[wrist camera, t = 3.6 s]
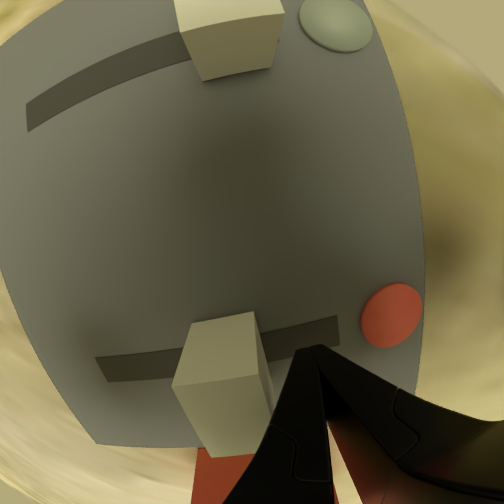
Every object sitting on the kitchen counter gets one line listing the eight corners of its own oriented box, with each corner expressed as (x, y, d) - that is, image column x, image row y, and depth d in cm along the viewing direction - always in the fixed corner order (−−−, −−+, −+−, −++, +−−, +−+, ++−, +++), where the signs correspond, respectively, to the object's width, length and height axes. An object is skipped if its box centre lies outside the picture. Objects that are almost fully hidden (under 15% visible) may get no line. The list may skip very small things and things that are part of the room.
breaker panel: (315, -30, 8) (329, -64, 5) (393, 366, 13) (417, 399, 10) (10, 73, 8) (-23, 62, 5) (110, 414, 13) (94, 447, 10)
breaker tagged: (253, 311, 9) (258, 373, 6) (271, 382, 9) (281, 449, 6) (191, 323, 9) (171, 386, 6) (218, 391, 10) (211, 457, 7)
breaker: (247, -5, 6) (250, -66, 3) (270, 67, 7) (284, 13, 4) (185, 8, 6) (164, -50, 3) (202, 81, 7) (179, 32, 4)
